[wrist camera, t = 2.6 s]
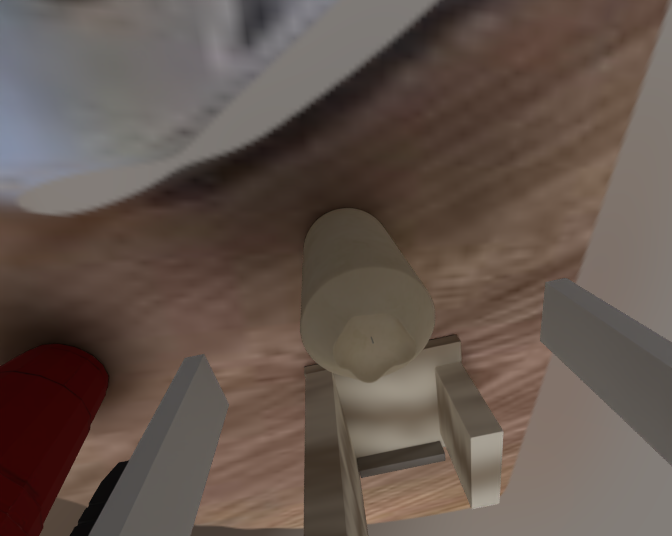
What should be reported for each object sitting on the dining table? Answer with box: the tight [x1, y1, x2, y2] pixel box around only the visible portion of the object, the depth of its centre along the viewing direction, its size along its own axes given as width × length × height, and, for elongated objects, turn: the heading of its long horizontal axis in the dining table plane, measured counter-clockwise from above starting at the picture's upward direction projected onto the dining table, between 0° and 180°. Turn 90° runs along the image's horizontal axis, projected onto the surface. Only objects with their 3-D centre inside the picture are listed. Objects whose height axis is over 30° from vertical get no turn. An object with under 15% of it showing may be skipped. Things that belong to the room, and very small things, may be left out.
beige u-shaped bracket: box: [304, 335, 503, 536], centre depth 21 cm, size 12×12×13 cm
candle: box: [300, 208, 435, 383], centre depth 16 cm, size 6×6×10 cm
